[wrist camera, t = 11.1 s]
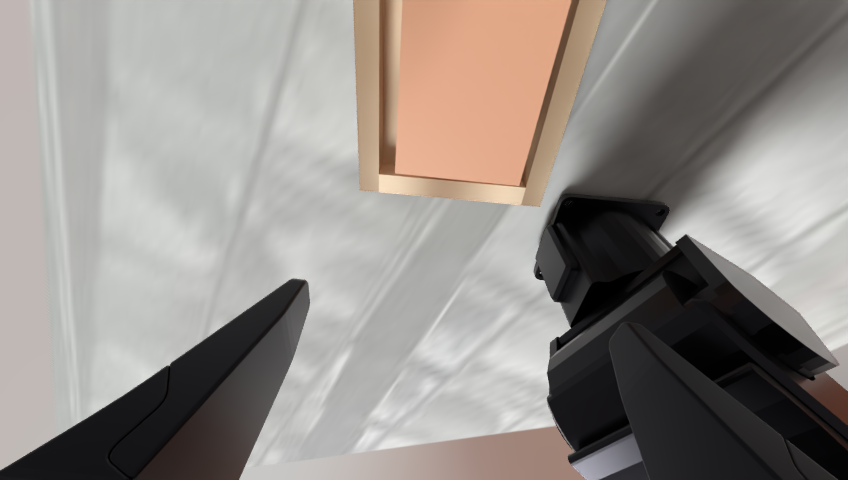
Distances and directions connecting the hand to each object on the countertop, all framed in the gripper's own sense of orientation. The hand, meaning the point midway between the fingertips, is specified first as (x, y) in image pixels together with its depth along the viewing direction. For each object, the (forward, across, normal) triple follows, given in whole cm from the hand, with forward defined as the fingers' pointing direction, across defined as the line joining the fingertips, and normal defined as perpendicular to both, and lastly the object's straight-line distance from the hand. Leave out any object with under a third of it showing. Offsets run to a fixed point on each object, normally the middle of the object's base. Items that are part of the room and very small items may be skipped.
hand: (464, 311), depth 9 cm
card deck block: (+10, 0, -5) cm, 11 cm away
